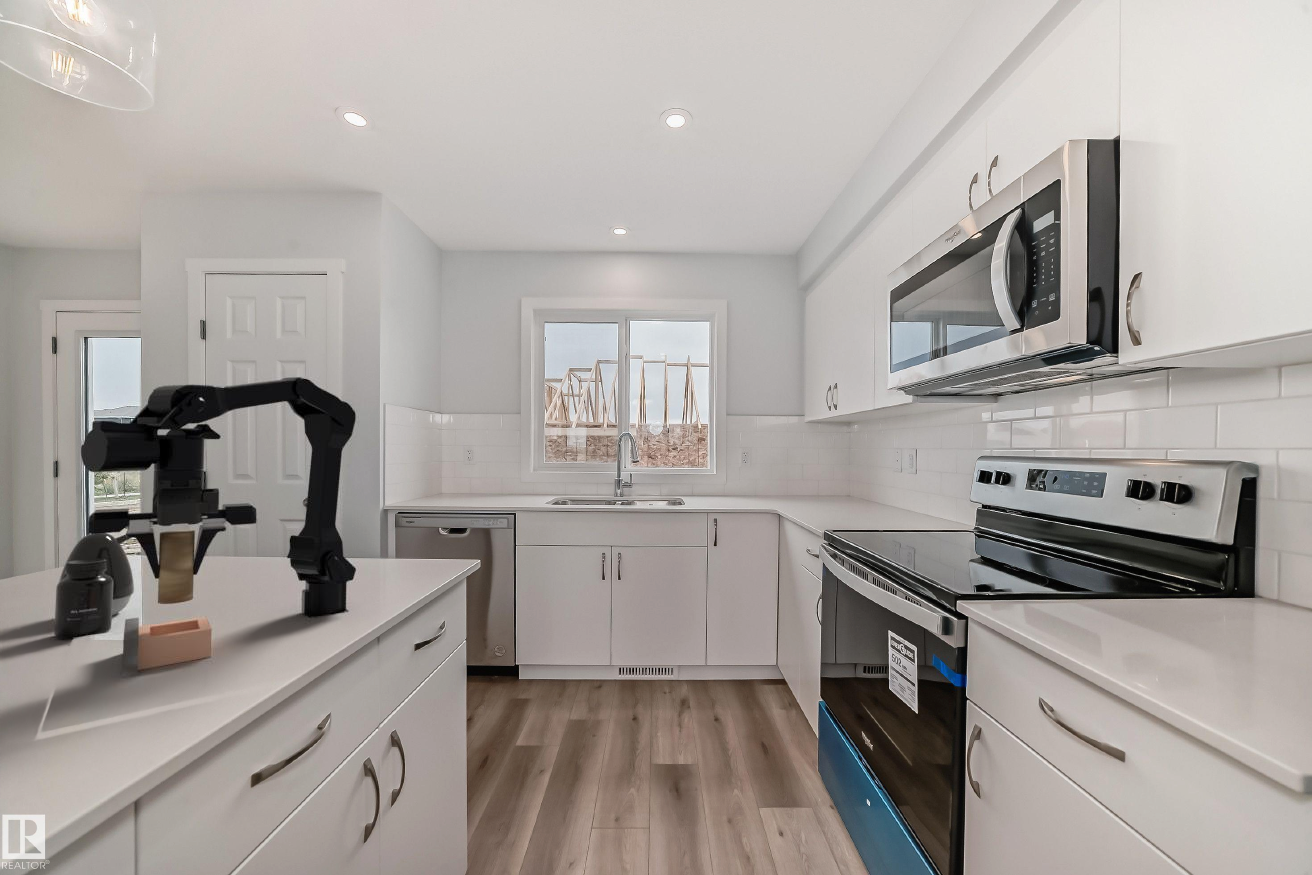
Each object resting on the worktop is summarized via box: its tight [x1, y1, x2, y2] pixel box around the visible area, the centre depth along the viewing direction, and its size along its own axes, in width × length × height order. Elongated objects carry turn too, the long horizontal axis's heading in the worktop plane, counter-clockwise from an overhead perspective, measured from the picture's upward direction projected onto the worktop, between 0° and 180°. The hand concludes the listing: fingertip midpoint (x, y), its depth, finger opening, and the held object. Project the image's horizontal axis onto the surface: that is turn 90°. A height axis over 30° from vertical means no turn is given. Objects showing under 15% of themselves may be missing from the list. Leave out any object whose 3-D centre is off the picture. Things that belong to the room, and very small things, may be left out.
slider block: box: [138, 616, 212, 671], centre depth 86 cm, size 8×8×4 cm
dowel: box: [157, 529, 196, 605], centre depth 86 cm, size 4×4×10 cm
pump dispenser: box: [58, 533, 135, 617], centre depth 107 cm, size 10×10×15 cm
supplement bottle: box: [53, 559, 114, 640], centre depth 97 cm, size 7×7×12 cm
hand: (176, 576), depth 86 cm, fingers closed on dowel, 4 cm apart
